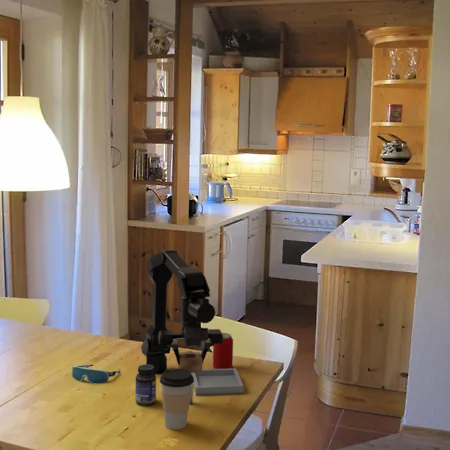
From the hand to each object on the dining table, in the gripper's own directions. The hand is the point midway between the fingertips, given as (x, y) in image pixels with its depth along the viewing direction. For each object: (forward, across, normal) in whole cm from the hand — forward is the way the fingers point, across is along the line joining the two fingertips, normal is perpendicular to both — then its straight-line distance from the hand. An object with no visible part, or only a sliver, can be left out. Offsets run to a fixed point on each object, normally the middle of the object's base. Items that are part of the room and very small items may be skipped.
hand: (190, 364), depth 192 cm
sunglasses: (+13, -29, +25) cm, 40 cm away
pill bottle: (+12, -13, +2) cm, 18 cm away
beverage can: (+12, +14, +27) cm, 33 cm away
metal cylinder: (+12, 0, 0) cm, 12 cm away
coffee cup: (+12, -5, -14) cm, 19 cm away
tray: (+12, +10, +13) cm, 20 cm away
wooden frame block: (+1, 0, 0) cm, 1 cm away
